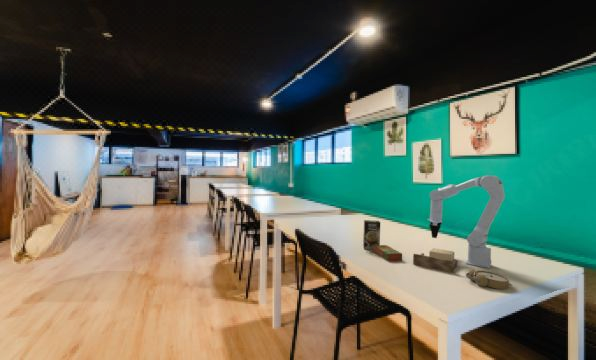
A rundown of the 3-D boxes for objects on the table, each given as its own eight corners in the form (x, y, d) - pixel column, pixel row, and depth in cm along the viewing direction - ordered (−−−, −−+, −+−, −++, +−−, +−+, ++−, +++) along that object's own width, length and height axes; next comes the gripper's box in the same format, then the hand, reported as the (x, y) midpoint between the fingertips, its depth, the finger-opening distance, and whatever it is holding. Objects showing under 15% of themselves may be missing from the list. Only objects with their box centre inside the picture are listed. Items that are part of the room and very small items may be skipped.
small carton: (454, 259, 139) (454, 251, 139) (450, 263, 133) (451, 255, 133) (433, 255, 145) (433, 248, 145) (429, 258, 139) (429, 251, 139)
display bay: (458, 265, 129) (458, 254, 128) (453, 272, 118) (453, 261, 118) (421, 257, 139) (421, 248, 139) (413, 264, 129) (413, 253, 129)
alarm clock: (517, 283, 101) (476, 274, 102) (514, 295, 101) (473, 286, 102) (498, 272, 112) (461, 264, 113) (495, 283, 112) (458, 275, 114)
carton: (386, 252, 150) (386, 244, 150) (402, 261, 134) (402, 253, 134) (373, 252, 149) (373, 244, 149) (387, 262, 133) (387, 253, 133)
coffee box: (363, 249, 154) (364, 221, 154) (362, 246, 161) (363, 219, 160) (380, 250, 153) (380, 222, 152) (378, 247, 159) (379, 220, 159)
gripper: (429, 209, 154) (427, 232, 154) (427, 212, 141) (425, 237, 142) (442, 210, 150) (441, 234, 151) (442, 214, 137) (440, 240, 138)
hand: (434, 236), depth 146 cm, fingers open, 7 cm apart
